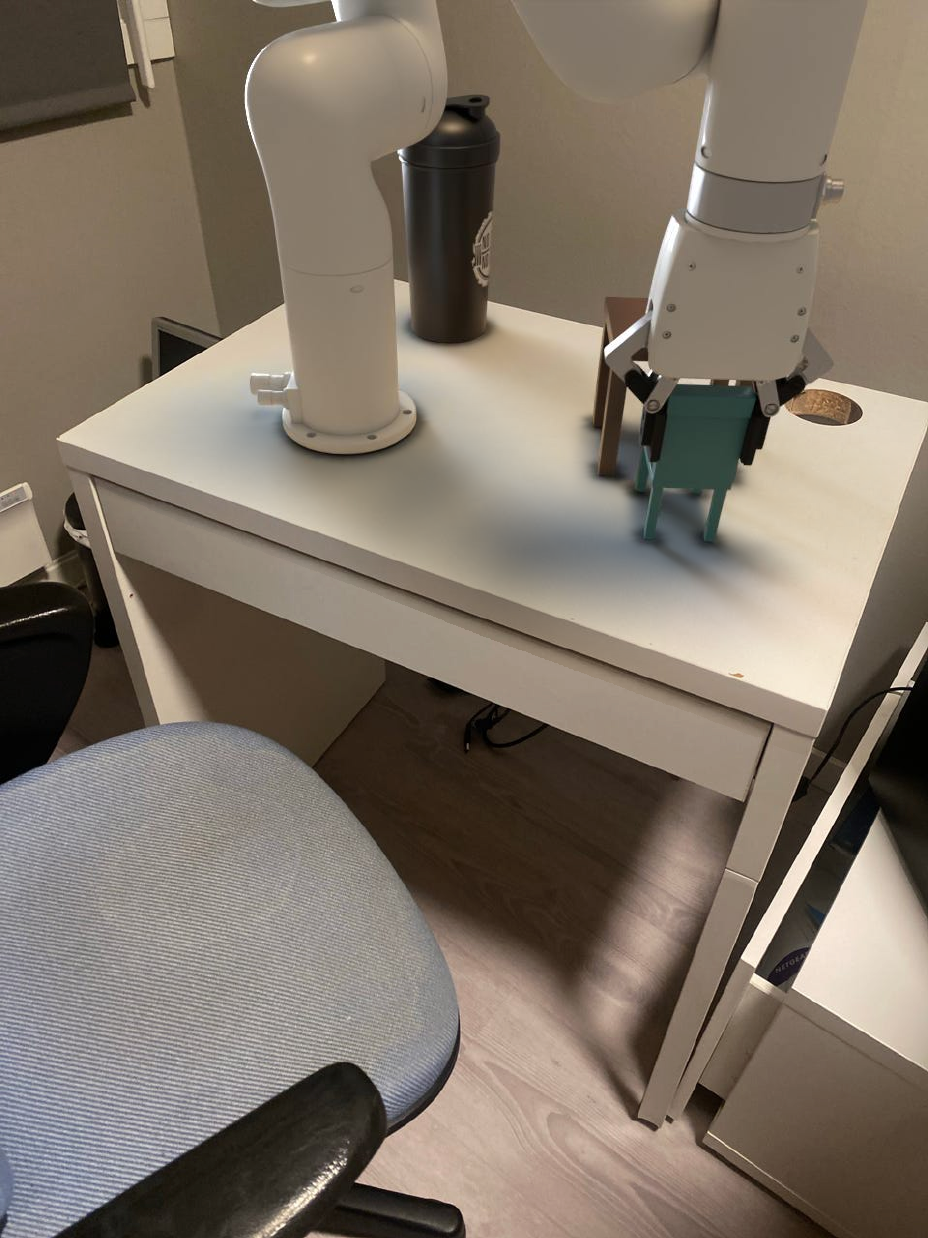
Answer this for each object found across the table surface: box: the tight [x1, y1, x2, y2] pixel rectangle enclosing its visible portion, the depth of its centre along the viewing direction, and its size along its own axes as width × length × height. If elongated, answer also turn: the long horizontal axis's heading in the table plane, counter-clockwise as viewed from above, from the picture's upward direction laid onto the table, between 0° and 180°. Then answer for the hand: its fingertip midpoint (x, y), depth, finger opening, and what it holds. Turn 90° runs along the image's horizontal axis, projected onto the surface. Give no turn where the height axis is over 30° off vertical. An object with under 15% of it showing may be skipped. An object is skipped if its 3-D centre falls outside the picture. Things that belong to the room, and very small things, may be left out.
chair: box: [634, 383, 756, 542], centre depth 70 cm, size 8×6×13 cm
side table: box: [592, 296, 755, 477], centre depth 78 cm, size 12×10×12 cm
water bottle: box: [397, 94, 501, 344], centre depth 94 cm, size 10×10×23 cm
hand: (697, 452), depth 66 cm, fingers closed on chair, 6 cm apart
